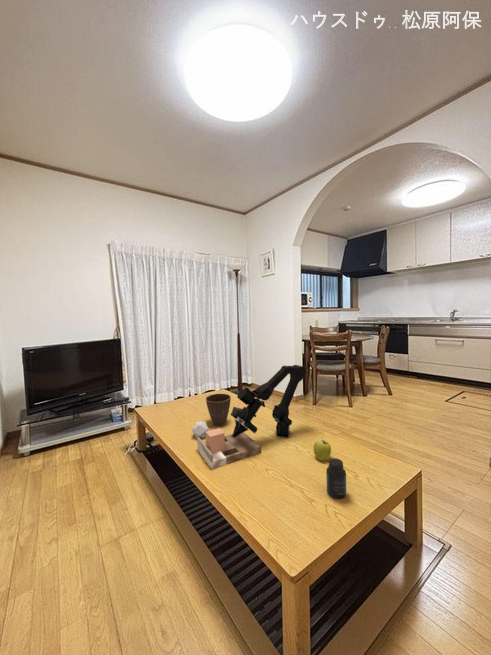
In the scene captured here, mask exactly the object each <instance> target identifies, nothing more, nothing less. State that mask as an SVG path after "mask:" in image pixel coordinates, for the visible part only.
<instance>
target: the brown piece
mask: <svg viewBox="0 0 491 655" xmlns="http://www.w3.org/2000/svg"><path fill="white" fill-rule="evenodd" d="M232 435H233V433H230V434H227V435H224V436H225V450H222V451H219V452H216V453H211V452H210V450H209V449H208V448H207V447H206V440H205V441H203V440H202V438H199V437H198V438H196V441H197V450H198V452H199V454H200V455H201V456H202V458H203V459H204V461H205V462H206V463H207V465H208V467H209V468H210V469H211V470H213V469H217V468H220V467H223V466H225V465H228V464H232V463H235V462H237V461H241V460H244V459H246V458H250V457H252V456H255V455H259V454H261V453H262V446H261V445H260V444H258V442H257V441H255V440H253V438H251V437H250V436H249V435H248V434H246V432H243V433H241V434H239V435H238V436H236V437H233V436H232Z"/></svg>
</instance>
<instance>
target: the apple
mask: <svg viewBox="0 0 491 655" xmlns="http://www.w3.org/2000/svg"><path fill="white" fill-rule="evenodd" d="M313 453H314V456H315V458H317V460H319V461H328V460H329V458H330V457H331V454H332V447H331V444H330V442H328V441H327V440H326V439H323V438H321V439H317V440H316V441H315V442H314V445H313Z"/></svg>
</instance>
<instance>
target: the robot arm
mask: <svg viewBox="0 0 491 655" xmlns="http://www.w3.org/2000/svg"><path fill="white" fill-rule="evenodd" d="M288 375H289V381H288V383H287V386H286V388H285V389H284V390H285V391H284V393H283V395H282V398H281V400H280V403H278V404H275V405H274V407H273V410H272V411H271V412H272V413H271V416H272V418H273V419H274V421H275V422H276V426H275V434H276V437H283V438H289V437H290V435H291V433H292V432H291V431H290V430H291V428H290V426H291V425H292V423H293V420H292V419H291V418H289V415H290V410H289V408H290V405H291V403H292V399H293V398H294V396H295V392H296V390H297V388H298V385H299V383H301V382H302V381H303V380H304V378H305V376H306V375H307V369H306V367H305V366H302V365H298V364H293V365H282V366H281V368H280V369H279V370H278V371H277V372H276V373H275V374H274V375H272V377H270V379H268V381H266V382H265V383H262V384H261V385H259V386H258V387H257V388H256V389H254V390H250V389H249V388H248V387H244V388H242V389H241V390H240V391H239V392H238V393H237V396H236V397H237V399H239V401H241V402H242V403H243V404H245V405H246V406H243V407H242V408H241V407H236V406H232V411H231V413H230V416H232V417H233V418H234V422H235V426H234V428H233V432H232V434H233V435H232V436H233V437H236V436H238V435H239V434H241V433H243V432H244V433H246V431H249V430H250V432H252V433H254V434H256V433H257V431H258V427H257V426H255V425H254V424H253V423H252V421H253V419H254V418H257V413H258V411H259V410H260V408H261V407H263V408H266V404H265V401H268V400H269V399H270V397H271V396H272V395H273V392H274V390H275V388H277V386H279V385H280V384H281V383H282V381H284V379H286V377H287V376H288Z"/></svg>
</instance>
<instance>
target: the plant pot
mask: <svg viewBox="0 0 491 655" xmlns="http://www.w3.org/2000/svg"><path fill="white" fill-rule="evenodd" d="M231 400H232V396H231V395H230V394H226V393H215V394H210V395H208V396H206V398H205V402H206V407H207V412H208V414H209V417H210V419H211V422H212V424H213V425H214V426H216V427H221V426H224V425H226V423H227V419H228V417H229V416H228V415H229V412H230V407H231Z"/></svg>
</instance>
